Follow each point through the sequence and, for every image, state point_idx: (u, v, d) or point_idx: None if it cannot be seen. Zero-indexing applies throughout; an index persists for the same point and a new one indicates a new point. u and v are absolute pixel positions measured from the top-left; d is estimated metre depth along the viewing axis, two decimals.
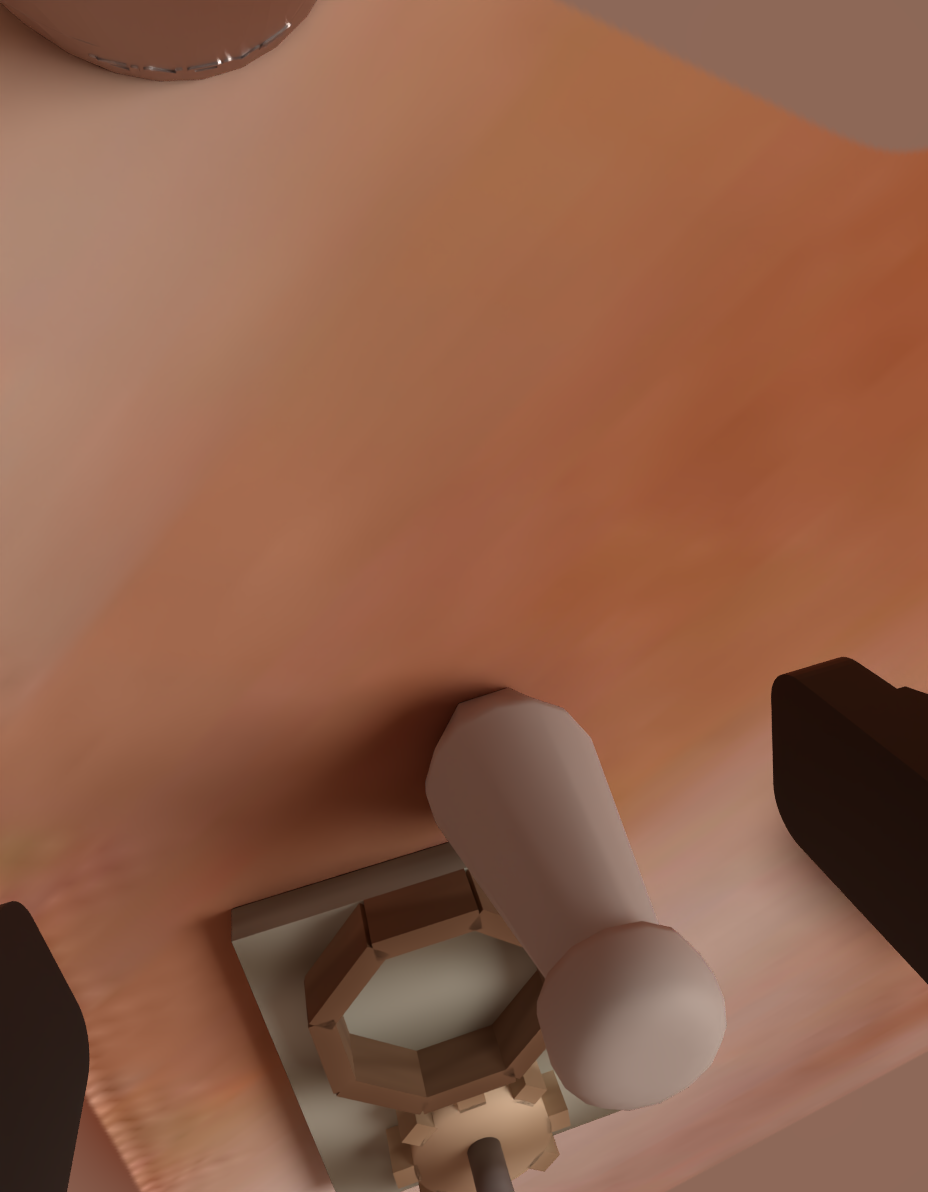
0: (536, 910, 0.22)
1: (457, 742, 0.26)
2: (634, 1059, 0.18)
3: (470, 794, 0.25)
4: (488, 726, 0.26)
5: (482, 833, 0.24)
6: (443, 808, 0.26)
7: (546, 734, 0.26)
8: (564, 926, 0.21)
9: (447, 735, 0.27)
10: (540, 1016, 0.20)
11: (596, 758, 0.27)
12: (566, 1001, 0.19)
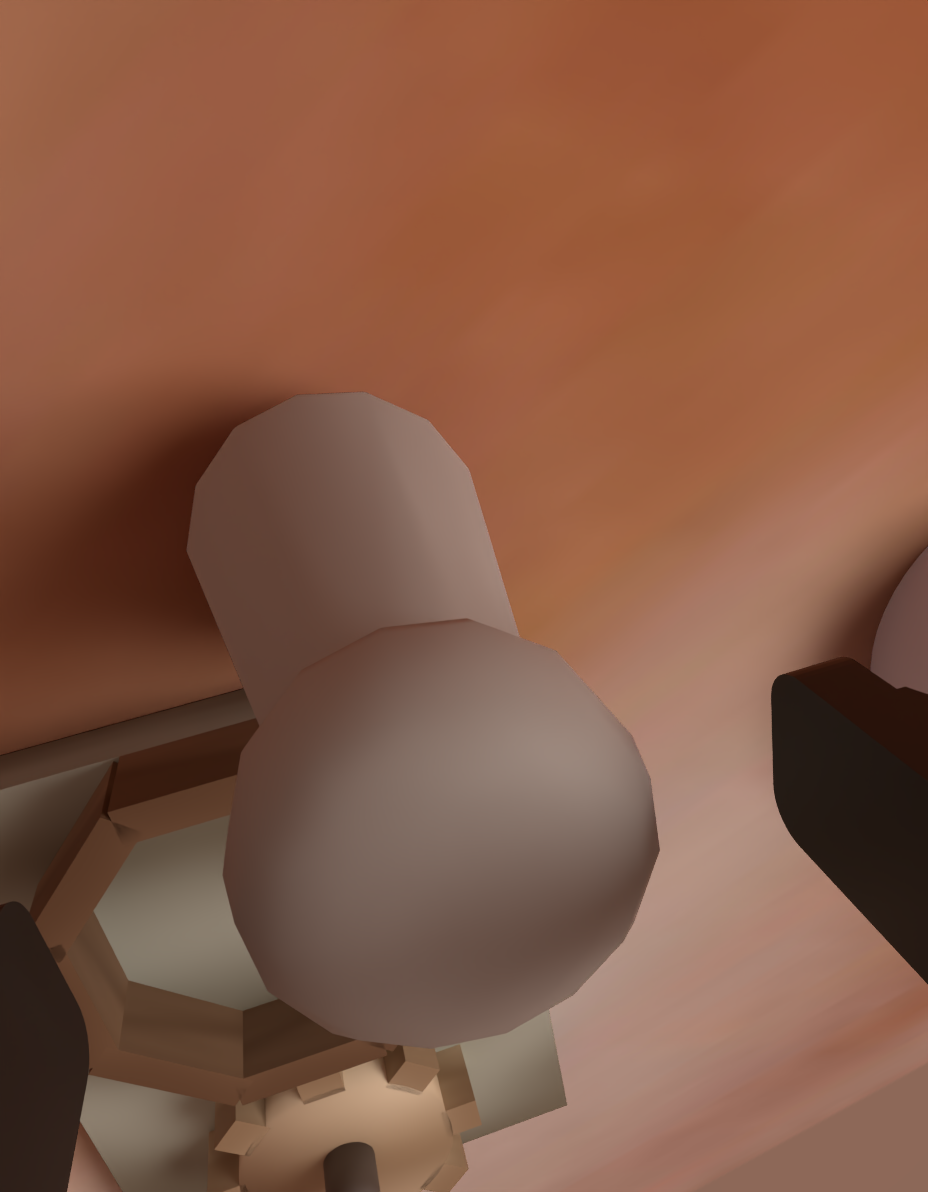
0: (279, 652, 0.10)
1: (226, 448, 0.15)
2: (412, 903, 0.07)
3: (227, 511, 0.14)
4: (277, 417, 0.15)
5: (229, 560, 0.13)
6: (199, 557, 0.15)
7: (372, 420, 0.15)
8: (315, 658, 0.10)
9: None
10: (229, 831, 0.08)
11: (469, 484, 0.16)
12: (257, 771, 0.08)
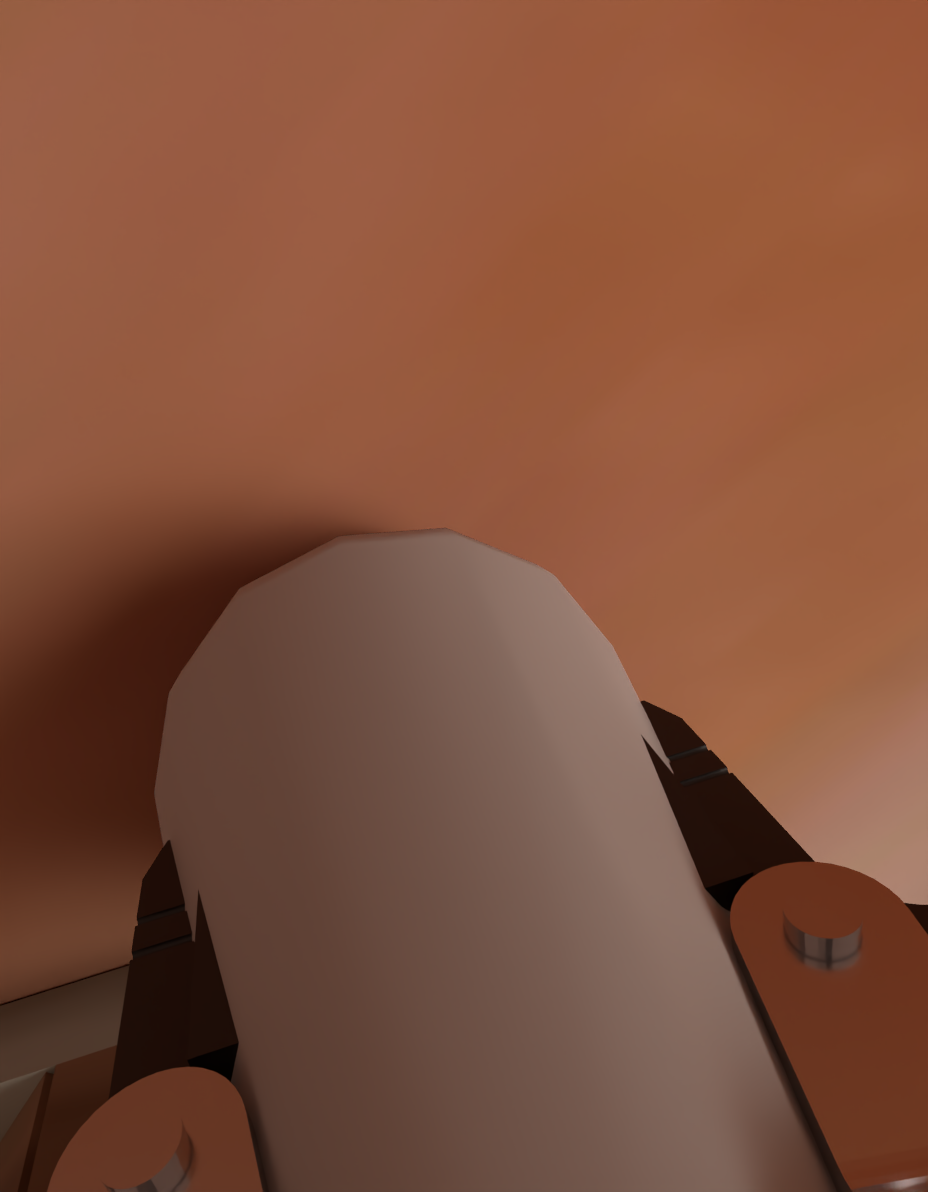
0: None
1: (220, 638, 0.09)
2: None
3: (219, 789, 0.07)
4: (308, 588, 0.09)
5: (222, 925, 0.06)
6: (171, 834, 0.09)
7: (478, 602, 0.08)
8: None
9: (211, 630, 0.10)
10: None
11: (630, 690, 0.09)
12: None
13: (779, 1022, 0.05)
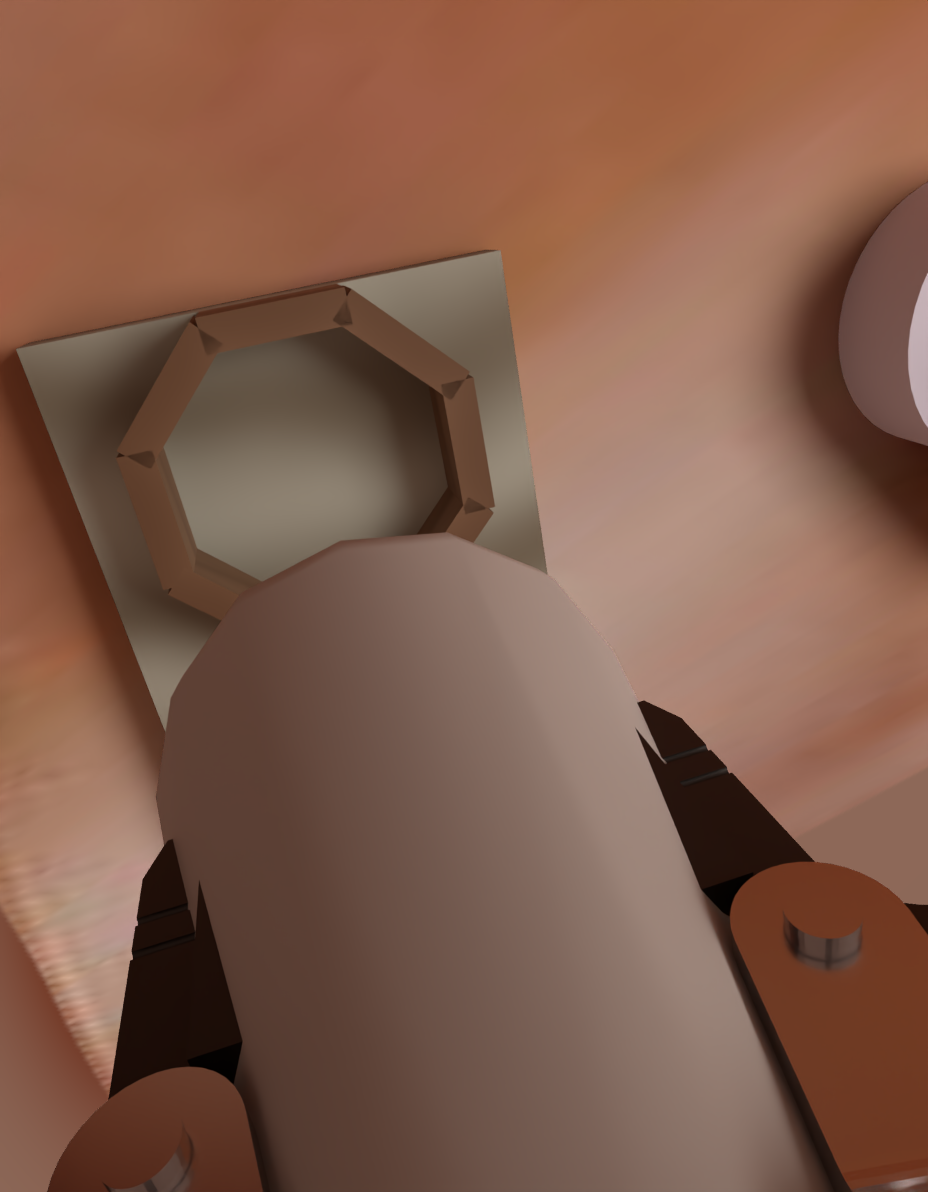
0: None
1: (222, 644, 0.09)
2: None
3: (221, 793, 0.08)
4: (310, 593, 0.09)
5: (224, 931, 0.07)
6: (174, 840, 0.09)
7: (479, 608, 0.08)
8: None
9: (212, 634, 0.10)
10: None
11: (631, 695, 0.09)
12: None
13: (779, 1022, 0.05)
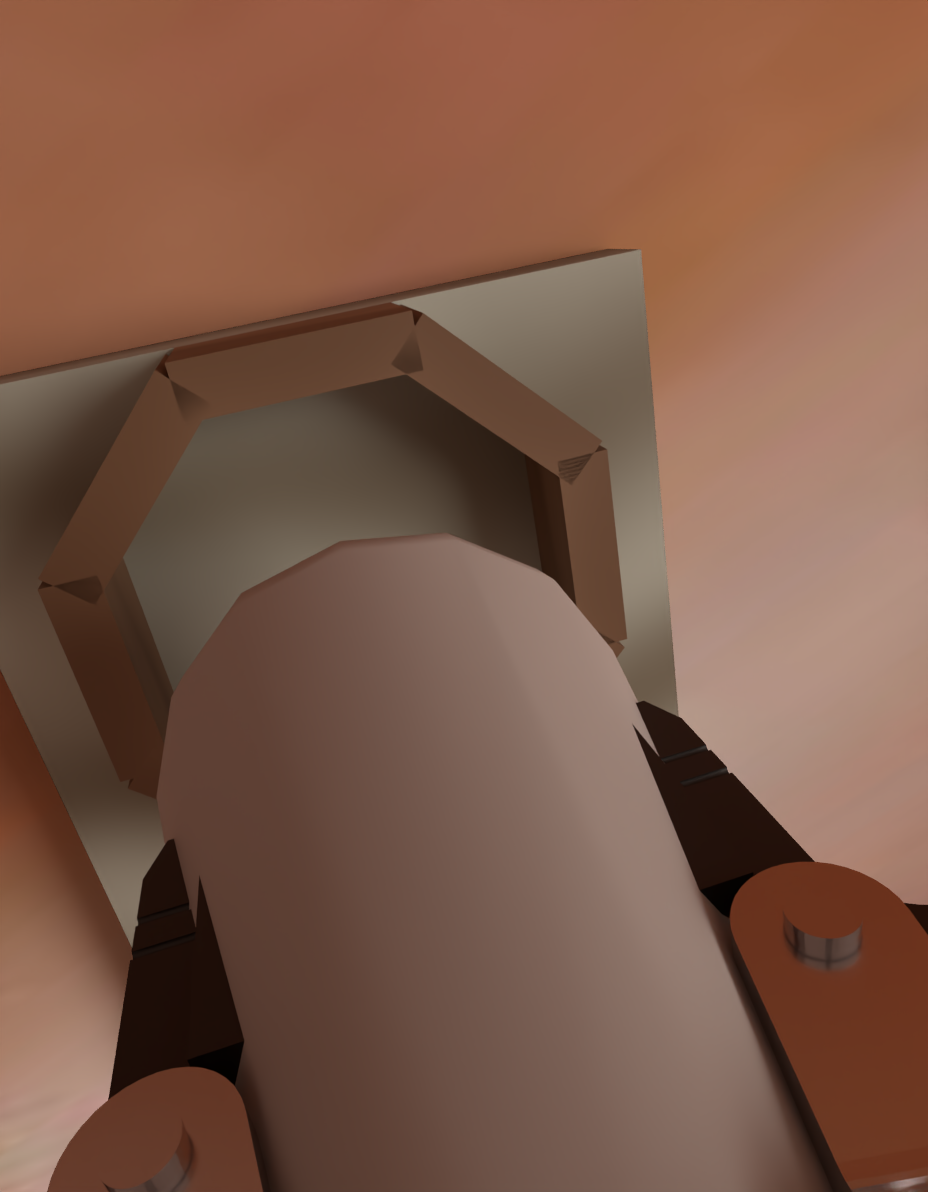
0: None
1: (223, 643, 0.09)
2: None
3: (222, 793, 0.08)
4: (309, 593, 0.09)
5: (225, 930, 0.07)
6: (174, 839, 0.09)
7: (478, 607, 0.08)
8: None
9: (213, 634, 0.10)
10: None
11: (630, 694, 0.09)
12: None
13: (779, 1021, 0.05)
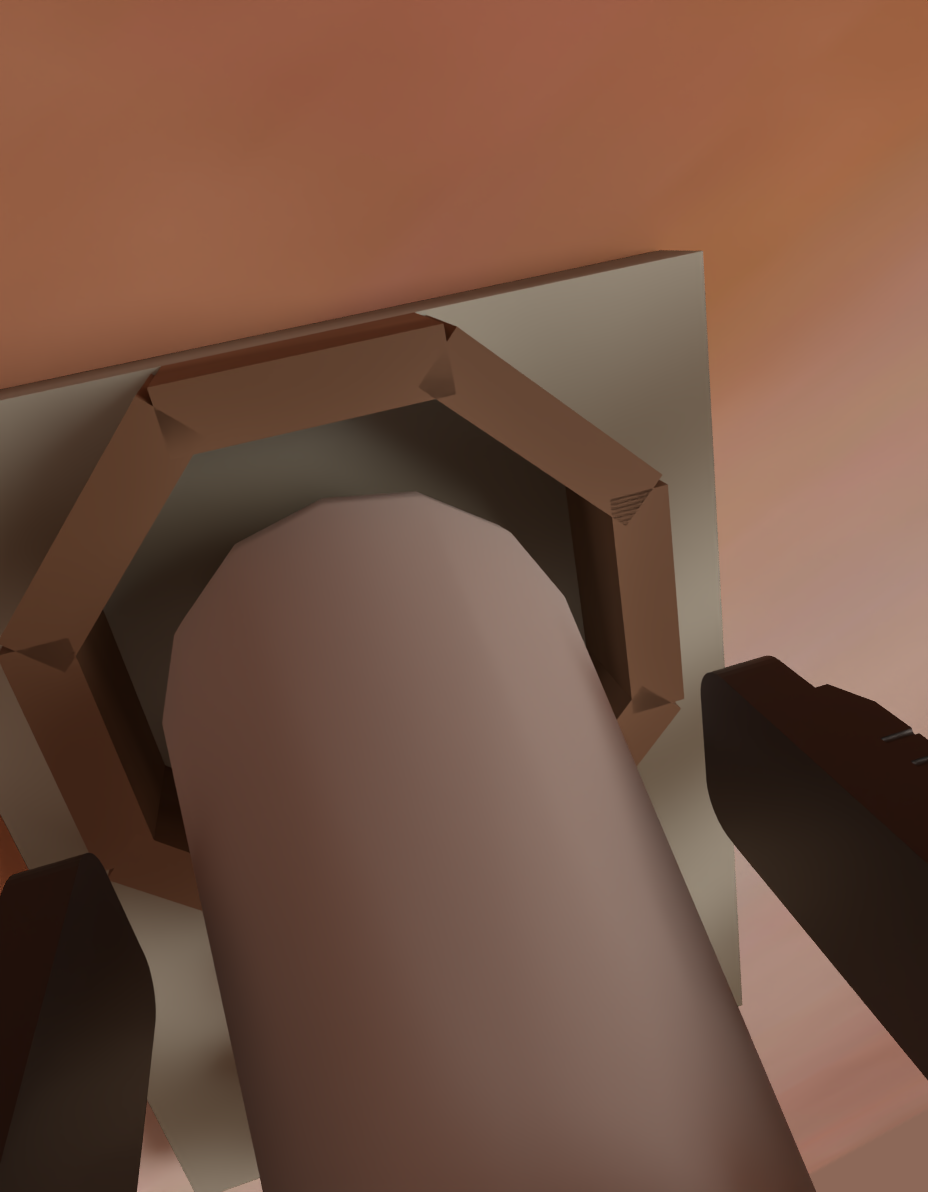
0: (311, 1098, 0.05)
1: (218, 586, 0.10)
2: None
3: (218, 705, 0.09)
4: (293, 541, 0.10)
5: (222, 810, 0.08)
6: (177, 753, 0.10)
7: (438, 552, 0.10)
8: None
9: (210, 580, 0.11)
10: None
11: (575, 632, 0.11)
12: None
13: None
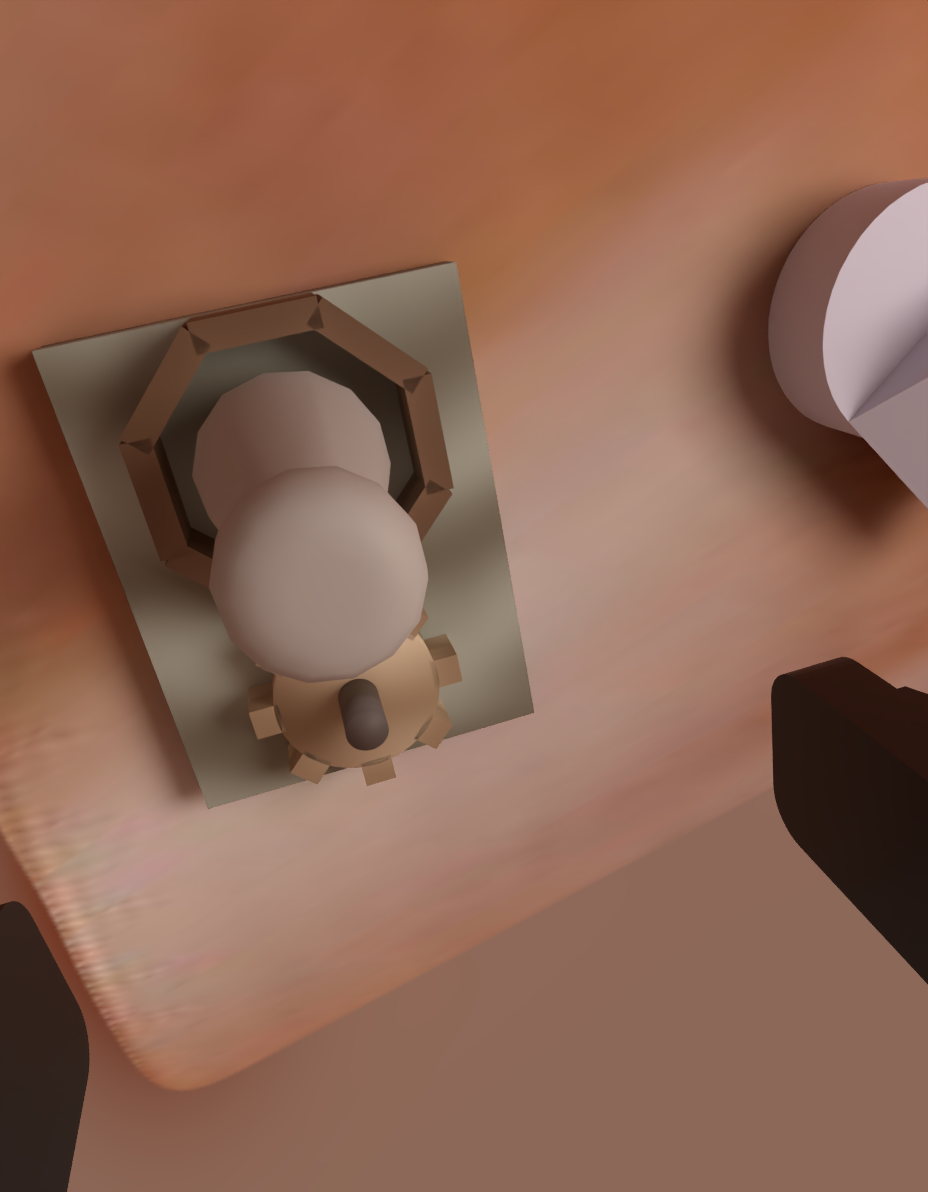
0: None
1: (217, 406, 0.24)
2: (295, 582, 0.16)
3: (216, 441, 0.22)
4: (249, 386, 0.24)
5: (217, 466, 0.21)
6: (200, 475, 0.24)
7: (308, 386, 0.23)
8: None
9: None
10: None
11: (375, 429, 0.24)
12: (224, 529, 0.16)
13: None
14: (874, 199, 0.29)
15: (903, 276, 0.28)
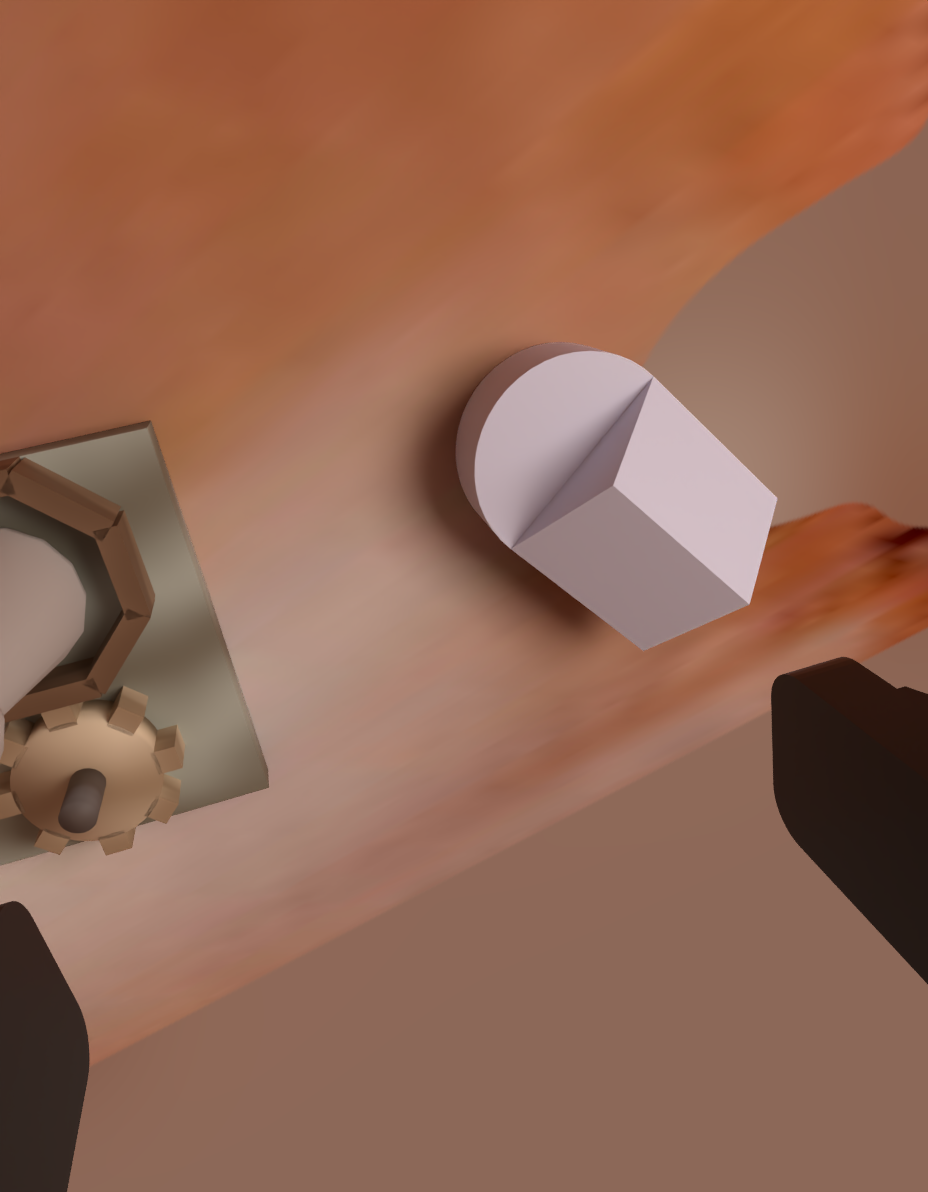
0: None
1: None
2: None
3: None
4: None
5: None
6: None
7: None
8: None
9: None
10: None
11: (57, 579, 0.30)
12: None
13: None
14: (518, 366, 0.34)
15: (542, 432, 0.34)
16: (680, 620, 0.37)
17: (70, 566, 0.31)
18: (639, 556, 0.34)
